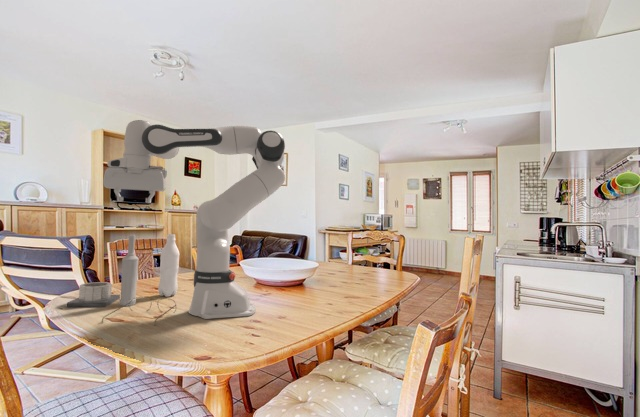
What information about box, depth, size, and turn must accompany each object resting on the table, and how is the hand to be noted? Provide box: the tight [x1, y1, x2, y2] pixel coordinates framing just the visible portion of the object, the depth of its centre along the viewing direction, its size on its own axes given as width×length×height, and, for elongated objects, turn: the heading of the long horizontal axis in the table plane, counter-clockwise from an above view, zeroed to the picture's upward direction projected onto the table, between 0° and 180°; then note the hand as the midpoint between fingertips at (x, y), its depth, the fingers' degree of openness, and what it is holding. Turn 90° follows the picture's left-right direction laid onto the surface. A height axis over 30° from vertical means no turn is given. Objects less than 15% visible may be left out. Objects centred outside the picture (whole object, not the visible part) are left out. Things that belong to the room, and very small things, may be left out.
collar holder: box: [66, 281, 121, 308], centre depth 117 cm, size 12×12×6 cm
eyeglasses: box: [101, 296, 177, 327], centre depth 103 cm, size 16×15×5 cm
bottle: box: [119, 234, 140, 307], centre depth 117 cm, size 5×5×25 cm
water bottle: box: [157, 233, 181, 298], centre depth 133 cm, size 7×7×25 cm
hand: (134, 202), depth 118 cm, fingers open, 8 cm apart
